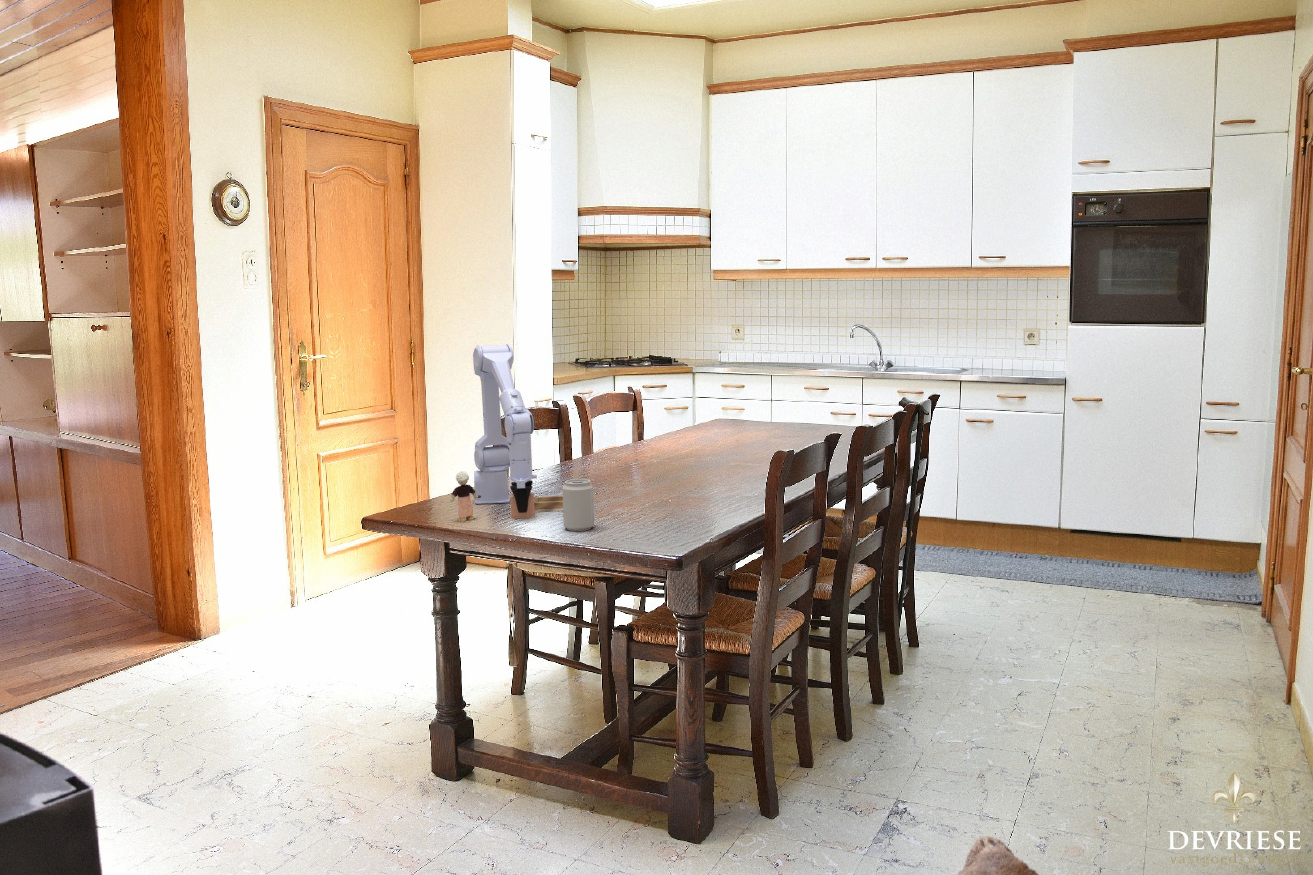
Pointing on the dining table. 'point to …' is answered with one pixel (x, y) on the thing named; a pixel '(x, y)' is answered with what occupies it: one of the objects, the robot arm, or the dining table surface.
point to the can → (578, 505)
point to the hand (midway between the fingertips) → (522, 510)
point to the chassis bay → (548, 503)
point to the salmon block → (530, 508)
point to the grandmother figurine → (464, 497)
